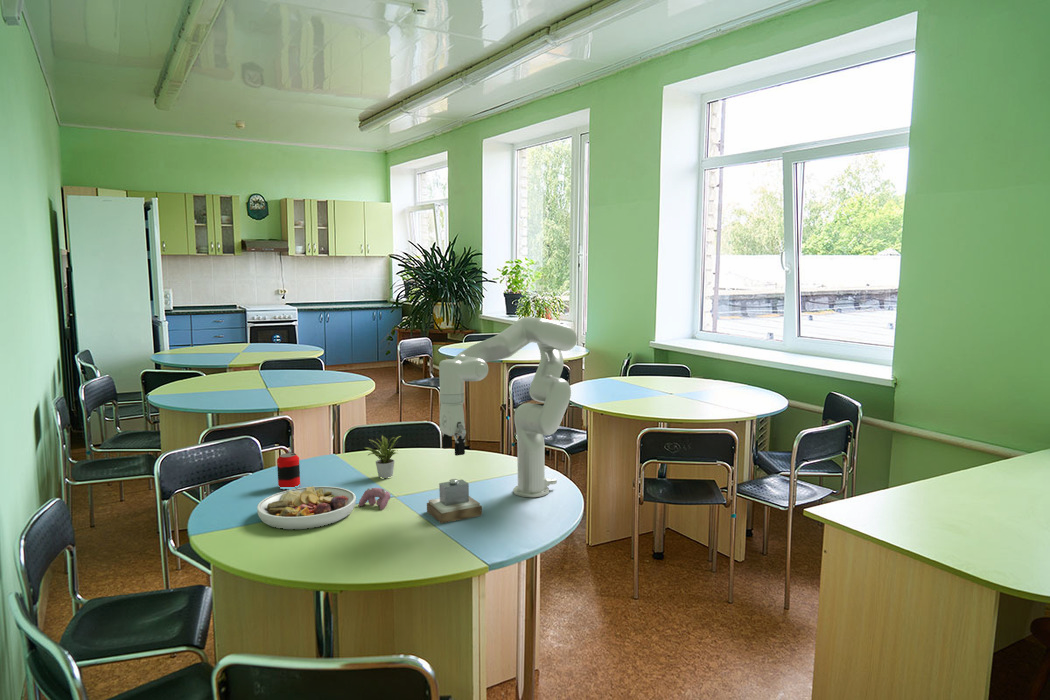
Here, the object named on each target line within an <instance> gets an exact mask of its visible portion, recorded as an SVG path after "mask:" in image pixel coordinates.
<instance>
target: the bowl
mask: <svg viewBox="0 0 1050 700" xmlns="http://www.w3.org/2000/svg"><path fill="white" fill-rule="evenodd" d="M356 498H357V497H356V494H355V493H354V492H353V491H351V490H349V489H346V488H343V487H339V486H338V487H337V486H313V485H312V486H307V487H299V488H297V489H292V490H283V491H281V492H277V493H274V494H272V495H270V496H267V497H265V498H264V499H262V500H261V501H260V502H259V503H258V504H257V507H256V509H257V515H258V517H259V519H260V520H261V521H262V522H263V523H264V524H265V525H267V526H269V527H272V528H275V527H276V528H277V529H280V528H283V529H282V530H293V529H295V530H308V529H307V528H309V529H314V527H316V528H319V527H320V526H321V527H325V526H328V524H329V525H332V524H334V523H336V522H339V521H341V520H343V519H345V518H346V517H348V516H349V514H351V513H352V511H353V510H354V509H355V506H356V502H357V499H356ZM331 523H332V524H331ZM324 525H325V526H324Z"/></svg>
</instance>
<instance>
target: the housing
mask: <svg viewBox="0 0 1050 700" xmlns="http://www.w3.org/2000/svg"><path fill="white" fill-rule="evenodd" d="M438 485H439V489H438V490H439V498H440V502H441V503H442V504H444V505H445V506H449V505H454V504H459V503H465V502H469V496H470V492H469V491H470V490H469V488H470V487H469V483H468V482H467V481H466V480H464V479H457V478H452V479H451V478H450V480H449V481H445V482H440V483H439V484H438Z"/></svg>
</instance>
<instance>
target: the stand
mask: <svg viewBox="0 0 1050 700" xmlns="http://www.w3.org/2000/svg"><path fill="white" fill-rule="evenodd" d="M426 513H427V514H429V515H430V516H431V515H432V516H433V517H432V516H431V517H432V518H434V519H435V520H436V521H437V520H438V521H439V522H438V521H437V522H438V523H440V524H441V523H442V524H445V522H447V523H451V522H450V521H452V522H456V520H457V521H460V520H461V521H462V520H467V519H470V518H471V519H472V518H476V517H481V515H482V516H483V507H482V505H481V503H480V502H479V501H478V500H477V499H474V498H473V497H472V496H471V495H469V502H465V503H459V504H454V505H449V506H445V505H444V504H442V503H441V502H440V497H438V498H433V499H428V502H426Z"/></svg>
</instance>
